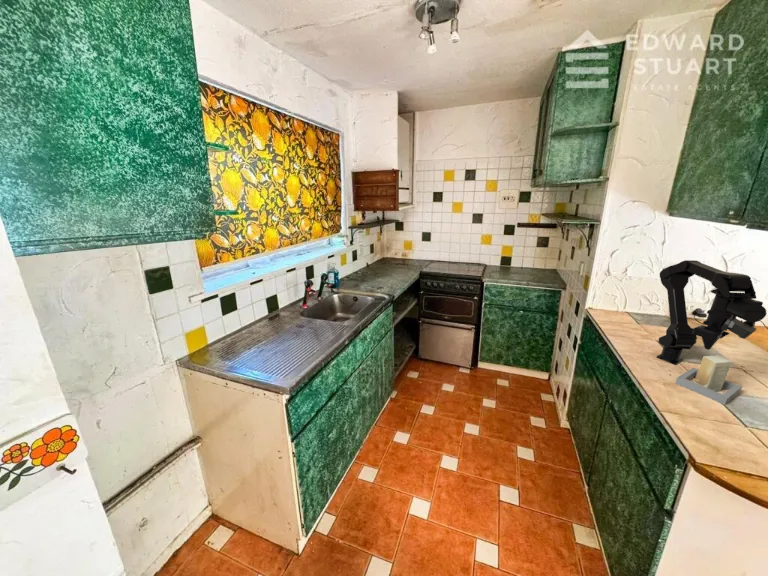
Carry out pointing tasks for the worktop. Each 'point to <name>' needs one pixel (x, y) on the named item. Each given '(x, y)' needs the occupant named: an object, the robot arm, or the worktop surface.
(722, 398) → the holder
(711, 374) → the skincare box
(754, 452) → the worktop surface
